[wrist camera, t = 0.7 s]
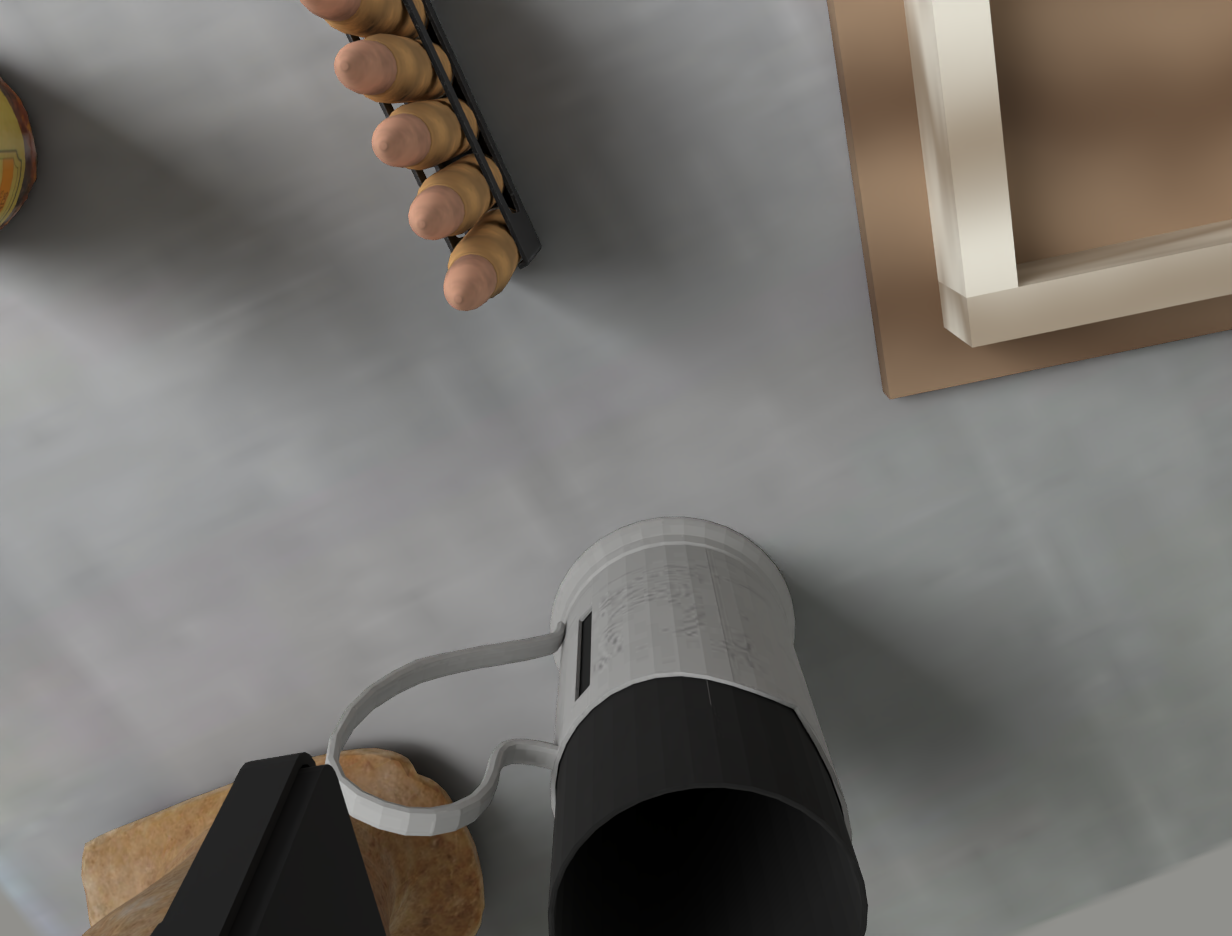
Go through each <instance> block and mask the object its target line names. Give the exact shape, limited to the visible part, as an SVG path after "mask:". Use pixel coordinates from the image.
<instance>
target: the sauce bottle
mask: <svg viewBox="0 0 1232 936" xmlns="http://www.w3.org/2000/svg"><path fill="white" fill-rule="evenodd" d="M37 157H38V155H37V152H36V147H35V143H34V137H33V135H32V130H31V126H30V123H29V118H28V113H27V112H26V110H25V108H24V107H23V104H22V101H21V99H20V98H19V97H18V95H17V94H16V93H15V92H14V91H13V90H12V89H11V88H10V87H9V86H8V85H7V84H6V83H5V82H4V81H3V80H2V78H1V77H0V230H1V229H2V228H3V226H5V225H7V224H8V222H9V221H10V220H11V219H12V218H13V217H14V216H15V214H16V213H17V212H18V211H19V209H20V208H21V206H22V205H23V203H24V202H25V201H26V199H27V198H28V193H29V192H30V191H31V188H32V186H33V184H34V182H35V180H36V176H37V175H36V174H37Z"/></svg>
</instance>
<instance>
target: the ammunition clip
mask: <svg viewBox="0 0 1232 936" xmlns="http://www.w3.org/2000/svg"><path fill="white" fill-rule="evenodd" d="M300 1H301V3H302V4H303V5H304V6H305V7H306V8H307V9H308V10H309V11H311V12H312V13H313V14H315V15H317V16H319V17H321V18H323V19H324V20H325V21H326V22H327V23H328V24H329V25H330V26H331V27H333V28H335V29H337V30H339V31H341V32H343V33H345V34H346V36H347V38H348V40H349V42H350V43H349V44H347V45H346V46H344V47H343V48H342V49H340V51H339V52H338V54H337V56H336V57H335V62H334V68H335V73H336V75H337V77H338V79H339V81H340V82H341V83H342V84H343V85H344V86H345V87H346V88H348V89H350V90H352V91H354V92H356V93H358V94H363V95H364V96H365V97H367V98H369V99H371V100H373V101H375V102H379V104H380V106H381V108H382V110H383V112H384V114H385V116H386V119H385V120H383V121H382V122H381V123H380V124H379V125H378V126H377V128H376V129H375V131H374V133H373V137H372V148H373V151H374V153H375V155H376V156H377V157H378V158H379V159H380V160H381V161H382V162H383V163H386V164H388V165H390V166H393V167H402V168H404V167H406V168H408V169H411V170H412V172H413V174H414V177H415V179H416V181H417V183H418V185H419V187H420V189H419V190H418V195H417V196H416V198H415V199H414V201H413V202H412V204H411V206H410V210H409V214H408V216H409V224H410V226H411V228H412V230H413V231H414V232H415V233H416V234H417V235H418V236H420V237H422V238H424V239H428V240H437V239H441V238H444V239H445V241H446V243H447V245H448V247H449V249H450V251H451V255H450V259H449V263H448V271H447V273H446V277H445V281H444V286H443V287H444V295H445V297H446V299H447V301H448V303H449V304H450V305H451V306H452V307H453V308H455V309H457V310H462V311H469V310H473V309H476V308H478V307H479V306H481V305H482V304H484V303H485V302H487V300H488V299H489V298H493V297H494V296H496V295H497V294H499V293H500V292H502V290H503V289H504V288H505V286H506V285H507V283H508V282H509V280H510V278H511V276H512V274H513V272H514V271H515V269H516V267H517V265H518V267H519V268H520V269H521V268H523V267H525V266H527V265H528V264H529V263H530V262H531V260H532V259H533V258H534V257H535V255H536V254H537V253H538V252H539V251H540V249H541V244H540V242H539V239H538V237H537V235H536V233H535V231H534V228H533V226H532V224H531V222H530V220H529V217H528V215H527V213H526V211H525V209H524V207H523V204H522V202H521V200H520V198H519V196H518V193H517V191H516V189H515V187H514V185H513V182H512V180H511V178H510V176H509V174H508V172H507V169H506V167H505V165H504V163H503V161H502V158H501V156H500V154H499V152H498V150H497V147H496V145H495V143H494V141H493V139H492V137H491V134H490V132H489V130H488V128H487V126H486V123H485V121H484V119H483V117H482V115H481V112H480V110H479V108H478V106H477V104H476V102H475V99H474V97H473V95H472V93H471V91H470V88H469V86H468V84H467V82H466V80H465V77H464V75H463V73H462V71H461V69H460V67H459V64H458V62H457V60H456V58H455V56H454V53H453V51H452V49H451V47H450V45H449V42H448V40H447V38H446V36H445V34H444V32H443V29H442V27H441V25H440V23H439V21H438V18H437V16H436V14H435V12H434V10H433V7H432V5H431V3H430V1H429V0H300ZM359 37H364V38H365V39H364V40H360V38H359ZM391 103H404V104H405V105H402V106H400V107H399V108H397V109H396V110H394V109H393V107H392V105H391ZM431 167H435V169H436V173H434V174H433V175H431V176H430V177H429V178H426V176H425V174H424V172H423V169H427V168H431ZM464 232H465V236H464V237H461V238H458V237H457V236H456V235H459V234H462V233H464ZM521 258H522V259H523V260H522V261H521V262H520V263H519V261H520V259H521ZM518 263H519V264H518Z"/></svg>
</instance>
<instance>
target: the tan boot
mask: <svg viewBox="0 0 1232 936" xmlns="http://www.w3.org/2000/svg"><path fill="white" fill-rule="evenodd" d="M312 758H313V760H314V761H315V763H316V766H319V765H325V760H326V754H324V755H319V756H315V757H312ZM339 763H340V765H341V767H342V770H343V772H344V774H345V777H346V778H348V779H349V780H350V781H352V782H353V783H354V784H355V785H357V786H358V787H359V788H360V789H362V790H363V791H365V792H367V793H369V794H372V795H374V796H376V797H379V798H381V799H383V800H385V801H389V802H392V803H396V804H400V805H403V806H407V807H429V808H430V807H436V806H441V805H446V804H451V803H453V802H452V800H451V799H450V797H449V796H448V794H447V793H446V791H445V790H444V789H443V788H442V787H441V786H439V785H438V784H437V783H436V782H435V781H433V780H431V779H430V778H427V777H425V776H422V775H419V774H417V772H416V770H415V769H414V767H413V765H412V763H411V762H410V760H409V759H408V758H406V757H405V756H403V755H401V754H399V753H397V752H394V751H389V750H384V749H379V748H360V749H352V750H345V751H341V752H340V757H339ZM232 785H233V783H231V784H229V785H226V786H223V787H221V788H218V789H216V790H213V791H210V792H207V793H205V794H202V795H199V796H196V797H194V798H191V799H189V800H186V801H184V802H181V803H179V804H176V805H174V806H172V807H169V808H167V809H164V810H162V811H159V812H157V813H154V814H152V815H149V816H147V817H144V818H142V819H139V820H137V821H134V822H132V823H129V824H127V825H124V826H121V827H119V828H116V829H114V830H111V831H109V832H107V833H105V834H103V835H100V836H98V837H97V838H95V839H93V840H91V841H89V842H87V843H85V847H84V852H83V857H82V874H81V876H82V881H83V885H84V889H85V893H86V900H87V907H88V915H89V921H90V925H91V928H90V929H88V930H87V931H86V932H85V933H84V934H83V935H82V936H150V935H151V933H152V932H153V931H154V929H155V928H156V926H157V925H158V924H159V923H161V922H162V921H163V919H164V917H165V915H166V913H167V911H168V909H169V907H170V905H171V903H172V901H173V899H174V898H175V896H176V894H177V892H178V890H179V888H180V886H181V884H182V882H183V880H184V878H185V876H186V874H187V872H188V870H189V868H190V866H191V864H192V862H193V861H194V859H195V857H196V855H197V853H198V851H199V849H200V847H201V845H202V843H203V841H204V839H205V837H206V835H207V833H208V831H209V829H210V827H211V826H212V824H213V822H214V820H215V818H216V816H217V814H218V812H219V810H220V808H221V806H222V804H223V802H224V800H225V798H226V796H227V794H228V792H229V791H230V789H231V787H232ZM349 816H350V819H351V822H352V826H353V829H354V832H355V835H356V839H357V842H358V845H359V848H360V852H361V855H362V858H363V861H364V865H365V868H366V871H367V874H368V878H369V881H370V884H371V887H372V891H373V894H374V897H375V900H376V904H377V907H378V910H379V913H380V917H381V920H382V923H383V926H384V930H385V933H386V936H475V935H476V933H477V931H478V929H479V927H480V925H481V920H482V913H483V910H484V908H485V899H484V885H483V875H482V870H481V866H480V861H479V857H478V853H477V850H476V846H475V843H474V841H473V839H472V836H471V834H470V832H469V830H468V828H467V826H464V827H462V828H460V829H458V830H456V831H453V832H448V833H443V834H439V835H434V836H408V835H401V834H397V833H393V832H389V831H385V830H381V829H378V828H375V827H373V826H371V825H369V824H367V823H364V822H362V821H360V820H358V819H356V818H353V817H352V816H351V815H349Z"/></svg>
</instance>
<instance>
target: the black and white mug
mask: <svg viewBox="0 0 1232 936" xmlns="http://www.w3.org/2000/svg"><path fill="white" fill-rule="evenodd" d="M794 640H795V616H794V609H793V603H792V599H791V596H790V593H789V590H788V588H787V585H786V582H785V580H784V579H783V577H782V575H781V574H780V572H779V570H778V569H777V567H776V565H775V564H774V563H773V562H772V561H771V560H770V558H769V557H768V556H767V555H766V554H765V553H764V552H763V551H762V550H761V549H760V548H759V547H758V546H756V545H755V544H754V543H752V542H751V541H750V540H749V539H747V538H746V537H745V536H743V535H741V534H739V533H737V532H735V531H733V530H731V529H729V528H727V527H725V526H722V525H719V524H716V523H713V522H710V521H707V520H702V519H695V518H688V517H660V518H655V519H649V520H644V521H639V522H636V523H633V524H631V525H628V526H625V527H622V528H620V529H618V530H616V531H614V532H612V533H610V534H609V535H607V536H605V537H603V538H602V539H600V540H599V541H597V542H596V543H595V544H594V545H593V546H591V547H590V548H589V549H588V550H586V551H585V552H584V553H583V554H582V555H581V556H580V558H579V559H578V560H577V561H576V562H575V563H574V564H573V566H572V567H571V568H570V569H569V571H568V573H567V575H566V576H565V578H564V580H563V581H562V583H561V585H560V587H559V590H558V592H557V595H556V598H555V601H554V604H553V608H552V615H551V621H550V634H546V635H542V636H537V637H533V638H528V639H522V640H516V641H509V642H503V643H497V644H491V645H484V646H478V647H473V648H468V649H463V650H458V651H453V652H447V653H442V654H437V655H433V656H429V657H425V658H421V659H417V660H415V661H413V662H411V663H408V664H406V665H404V666H402V667H400V668H398V669H396V670H394V671H392V672H391V673H389V674H388V675H386V676H384V677H383V678H381V679H380V680H378V681H377V682H375V683H373V684H372V685H370V686H369V687H367V688H366V689H365V690H364V691H363V692H362V693H361V694H360V695H359V696H358V697H357V698H356V699H355V700H354V701H353V702H352V703H351V704H350V705H349V706H348V707H347V708H346V710H345V711H344V713H343V715H342V717H341V718H340V720H339V722H338V724H337V726H336V728H335V730H334V732H333V733H332V735H331V737H330V739H329V743H328V748H327V754H326V760H325V764H329V765H331V766H332V767H333V769H334V770H335V772H336V775H337V777H338V780H339V783H340V787H341V790H342V793H343V796H344V800H345V803H346V806H347V809H348V813H349V815H351V816H352V817H353V818H356V819H358V820H360V821H362V822H364V823H367V824H369V825H371V826H373V827H375V828H378V829H381V830H385V831H389V832H393V833H397V834H401V835H408V836H434V835H439V834H443V833H448V832H453V831H456V830H458V829H460V828H462V827H464V826H466V825H468V824H470V823H472V822H474V821H475V820H476V819H477V818H478V817H479V816H480V815H481V814H482V813H483V811H484V810H485V809H486V808H487V807H488V806H489V805H490V803H491V801H492V798H493V796H494V793H495V791H496V788H497V785H498V781H499V776H500V771H501V769H502V768H503V767H504V766H507V765H510V764H525V765H532V766H538V767H542V768H546V769H550V770H552V771H551V784H550V785H551V806H552V810H553V814H554V818H555V820H554V834H553V848H552V863H551V877H550V892H549V906H548V921H549V936H864V935H865V932H866V926H867V910H868V904H867V897H866V890H865V884H864V880H863V877H862V874H861V871H860V868H859V865H858V861H857V858H856V855H855V852H854V849H853V846H852V831H851V826H850V821H849V815H848V810H847V805H846V802H845V799H844V796H843V793H842V790H841V787H840V784H839V781H838V778H837V775H836V772H835V769H834V766H833V763H832V760H831V757H830V754H829V751H828V748H827V745H826V742H825V739H824V736H823V733H822V730H821V727H820V724H819V721H818V718H817V715H816V712H815V709H814V706H813V703H812V700H811V697H810V694H809V691H808V688H807V685H806V682H805V679H804V676H803V673H802V670H801V667H800V664H799V661H798V658H797V655H796V652H795V649H794V646H793V645H794ZM550 654H553V655H554V659H555V663H556V666H557V668H558V670H559V682H558V695H557V708H556V721H555V733H554V744H552V743H547V742H542V741H537V740H529V739H511V740H508V741H505V742H502V743H501V744H499V745H498V746H497V747H496V748H495V749H494V750H493V752H492V754H491V756H490V759H489V761H488V765H487V769H486V773H485V775H484V778H483V780H482V782H481V784H480V785H479V786H478V788H477V789H476V790H475V791H474V792H473V793H472V794H471V795H469V796H467V797H465V798H462V799H460V800H458V801H456V802H454V803H451V804H446V805H441V806H436V807H430V808H429V807H407V806H403V805H400V804H396V803H392V802H389V801H385V800H383V799H381V798H379V797H376V796H374V795H372V794H369V793H367V792H365V791H363V790H362V789H360V788H359V787H358V786H357V785H355V784H354V783H353V782H352V781H350V780H349V779H348V778H346V777H345V774H344V772H343V770H342V767H341V765H340V763H339V757H340V752H341V751H342V749H343V747H344V745H345V743H346V742H347V740H348V738H349V736H350V735H351V733H352V731H353V730H354V728H355V727H356V726H357V725H358V724H359V723H360V722H361V721H362V720H363V719H364V718H365V717H366V716H367V715H368V714H369V713H370V712H371V711H372V710H373V709H375V708H376V707H378V706H380V705H381V704H383V703H384V702H386V701H387V700H389V699H391V698H392V697H394V696H395V695H397V694H399V693H401V692H403V691H405V690H407V689H409V688H411V687H413V686H415V685H417V684H419V683H422V682H426V681H429V680H433V679H436V678H440V677H443V676H448V675H452V674H456V673H460V672H465V671H470V670H474V669H479V668H485V667H492V666H498V665H504V664H510V663H515V662H521V661H526V660H531V659H535V658H539V657H543V656H547V655H550Z"/></svg>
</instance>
